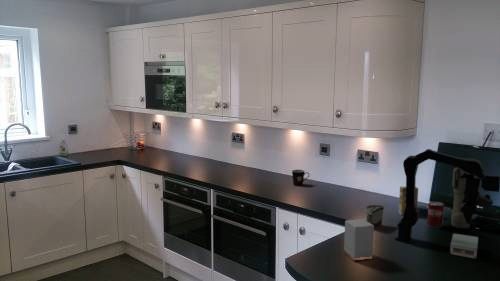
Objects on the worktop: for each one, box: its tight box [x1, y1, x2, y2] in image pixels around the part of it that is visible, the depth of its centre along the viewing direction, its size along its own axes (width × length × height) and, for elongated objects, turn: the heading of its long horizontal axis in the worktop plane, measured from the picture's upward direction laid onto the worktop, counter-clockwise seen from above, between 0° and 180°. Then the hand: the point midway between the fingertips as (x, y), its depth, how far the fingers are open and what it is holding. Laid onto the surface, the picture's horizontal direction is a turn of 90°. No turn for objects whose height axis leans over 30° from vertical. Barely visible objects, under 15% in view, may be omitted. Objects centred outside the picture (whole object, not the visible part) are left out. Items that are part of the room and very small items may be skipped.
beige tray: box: [449, 245, 478, 260], centre depth 189 cm, size 10×13×3 cm
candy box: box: [398, 186, 419, 216], centre depth 237 cm, size 9×4×15 cm, turn 92°
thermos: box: [450, 167, 477, 229], centre depth 218 cm, size 9×12×35 cm
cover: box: [450, 233, 479, 252], centre depth 188 cm, size 10×14×2 cm
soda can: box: [426, 201, 445, 229], centre depth 219 cm, size 7×7×12 cm
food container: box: [364, 204, 385, 229], centre depth 219 cm, size 12×6×10 cm, turn 134°
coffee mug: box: [291, 169, 310, 187], centre depth 299 cm, size 12×9×10 cm
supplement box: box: [343, 218, 375, 258], centre depth 182 cm, size 9×9×15 cm
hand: (468, 223), depth 187 cm, fingers closed
